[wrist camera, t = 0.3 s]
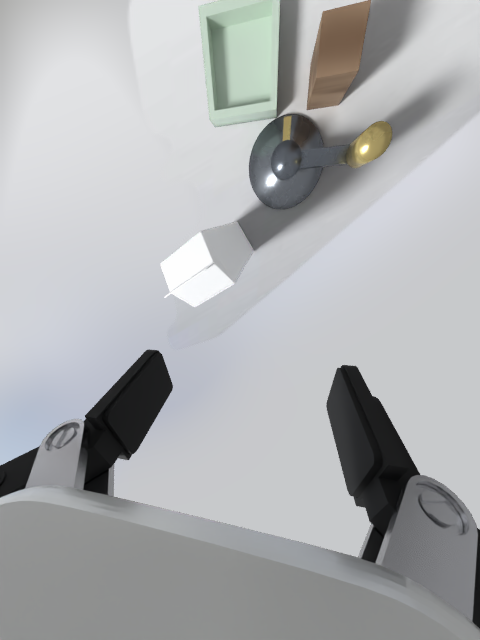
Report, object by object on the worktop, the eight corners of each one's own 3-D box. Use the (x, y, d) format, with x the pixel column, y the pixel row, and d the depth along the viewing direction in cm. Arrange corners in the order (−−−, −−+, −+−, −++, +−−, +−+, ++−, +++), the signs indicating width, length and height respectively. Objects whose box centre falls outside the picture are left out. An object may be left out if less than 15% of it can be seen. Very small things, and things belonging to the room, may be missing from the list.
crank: (270, 181, 27) (269, 175, 22) (271, 145, 25) (270, 130, 20) (364, 173, 25) (384, 164, 20) (373, 132, 23) (398, 111, 18)
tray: (205, 25, 22) (198, 6, 20) (280, 6, 21) (280, -17, 19) (214, 127, 27) (209, 120, 25) (276, 117, 25) (276, 109, 23)
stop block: (310, 63, 23) (322, 11, 17) (345, 56, 22) (371, -1, 16) (306, 110, 25) (316, 78, 19) (338, 105, 24) (358, 70, 18)
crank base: (248, 122, 26) (245, 113, 24) (329, 109, 24) (335, 98, 22) (250, 210, 32) (248, 211, 29) (316, 206, 30) (320, 206, 28)
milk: (254, 250, 35) (230, 296, 16) (229, 266, 37) (183, 322, 19) (236, 220, 33) (187, 233, 14) (211, 239, 35) (140, 272, 17)
